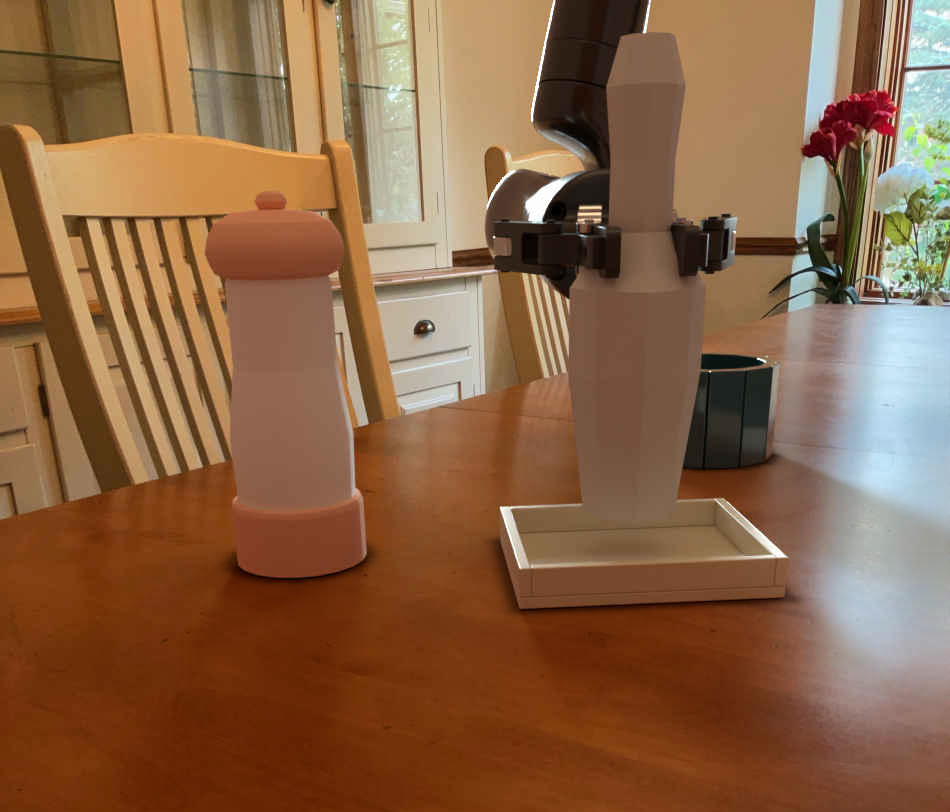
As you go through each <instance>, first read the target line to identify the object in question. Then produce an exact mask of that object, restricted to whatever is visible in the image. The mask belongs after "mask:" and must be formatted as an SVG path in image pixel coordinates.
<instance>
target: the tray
mask: <svg viewBox="0 0 950 812" xmlns="http://www.w3.org/2000/svg"><path fill="white" fill-rule="evenodd" d="M499 541H500V545H501V549H502V552H503V554H504V555H503V556H504V559H505V563H506V567H507V570H508V574H509V576H510V579H511V584H512V587H513V591H514V594H515V598H516V601H517V604H518V608H519V609H520V610H527V609H528V610H529V609H553V608H572V607H573V608H575V607H597V606H617V605H620V606H621V605H645V604H665V603H687V602H688V603H689V602H691V603H692V602H708V601H709V602H711V601H712V602H713V601H735V600H757V599H779V598H785V594H786V585H787V584H786V583H787V575H788V573H787V572H788V563H789V557H788V556H787V555H786V554H785V553H784V552H782V550H780V549H779V547H777V546H776V545H775V544H774V543H773V542H772V541H770V540H769V539H768V538H767V537H766V536H765V535H764V534H763V533H762V532H761V531H759V529H758V528H756V527H755V526H754V524H752V523H751V522H750V521H749V520H748V519H747V518H746V517H745V516H744V515H743V514H741V513H740V512H739V511H738V510H737V509H736V508H735V507H734V506H732V504H730V502H728V501H727V500H726V499H725V498H724V497H718V498H717V497H715V498H690V499H676V505H675V509H674V510H672V511H671V512H670V513H669V514H668V515H667V516H666V517H665V518H660V519H654V520H648V521H642V522H637V523H634V522H625V521H617V520H608V519H601V518H599V517H597V516H594V515H592V514H590V513H588V512H586V511H584V510H583V507H582V503H559V504H537V505H536V504H535V505H533V504H532V505H511V506H509V505H508V506H507V505H506V506H500V507H499Z"/></svg>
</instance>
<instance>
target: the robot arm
mask: <svg viewBox="0 0 950 812" xmlns="http://www.w3.org/2000/svg"><path fill="white" fill-rule="evenodd" d="M651 2H652V0H553V2H552V8H551V11H550V17H549V21H548V26H547V30H546V31H547V32H546V36H545V41H544V46H543V50H542V54H541V55H542V56H541V61H540V66H539V71H538V76H537V81H536V86H535V93H534V97H533V100H532V101H533V102H532V108H531V123H532V126H533V129H534V130H535V131H536V132H537V133H538V134H539V135H540V136H541V137H543V138H545V139H546V140H548V141H549V142H551V143H553V144H555V145H558V146H559V147H561V148H563V149H565V150H566V151H569V153H571V154H572V155H574V156H575V157H577V159H578V160H579V161H580V164H581V165H582V167H583V170H579V171H574V172H571V173H568V174H565V175H563V176H559V175H558V176H557V175H554V174H551V175H550V174H548V173H545V172H540V171H536V170H531V169H528V168H517V169H515V170H512V171H510V172H509V173H507V174H506V175H505V176H504V177H502V179H501V180H500V182H498V184H497V185H496V187H495V189H494V190H493V192H492V193H491V196H490V198H489V201H488V204H487V207H486V211H485V217H484V235H485V242H486V245H487V249H488V251H489V253H490V255H491V257H492V259H493V270H494V271H500V273H504V274H506V273H518V274H519V273H520V274H527V275H528V274H529V275H534V276H535V275H537V276H539V278H540V279H541V281H543V283H545V285H547V286H548V287H550V288H551V289H552V290H553V291H555V292H557V293H558V294H560V295H561V296H563V297H564V298H565V299H567V300H569V301H570V287H571V285H572V284H573V282H574V281H575V280H576V278H577V277H578V275H579V274H580V272H581V271H582V270H583V268H586V269H598V270H599V274H600V277H601V278H619V275H620V261H621V229H620V227H615V226H609V196H610V162H611V159H610V142H609V125H608V108H607V91H606V87H607V83H608V80H609V76H610V73H611V69H612V66H613V62H614V59H615V55H616V52H617V49H618V45H619V42H620V38H621V36H625V35H629V34H635V33H647V25H648V21H649V14H650V9H651ZM731 215H732V214H731V213H721V214H720V216H719V215H718V216H717V215H716V216H715V215H713V216H711V215H709V216H707V217H706V216H705V217H703V219H700V225H696V224H694V220H692V219H691V220H687V217H684V216H682V217H679V215H678V211H677V209H675V208H673V217H672V226H671V232H672V237H673V241H674V245H675V250H676V254H677V259H678V269H679V276H680V277H684V276H696V275H697V272H698V273H699V272H704V275H715V272H722V271H724V270H726V269H727V268H730V267H731V266H733V265H734V264H735V254H736V253H735V250H736V242H737V241H736V239H737V226H738V216H731Z"/></svg>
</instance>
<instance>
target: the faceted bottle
mask: <svg viewBox="0 0 950 812" xmlns="http://www.w3.org/2000/svg"><path fill="white" fill-rule="evenodd" d="M686 85H687V84H686V81H685V76H684V71H683V65H682V62H681V56H680V52H679V47H678V42H677V38H676V35H675V34H673V33H671V32H656V31H649V32H647V31H646V32H645V33H635V34H629V35H625V36H621V38H620V42H619V45H618V49H617V52H616V55H615V59H614V62H613V66H612V69H611V73H610V76H609V80H608V83H607V87H606V91H607V108H608V125H609V142H610V159H611V162H610V196H609V226H615V227H620V229H621V261H620V275H619V278H601V277H600V274H599V270H598V269H586V268H583V270H582V271H581V272H580V274H579V275H578V277H577V278H576V280H575V281H574V282H573V284H572V285H571V287H570V300H569V303H568V304H569V305H568V306H569V307H568V309H569V310H568V311H569V313H568V318H569V319H568V367H567V368H568V369H567V370H568V371H567V372H568V375H567V376H568V384H569V396H570V402H571V404H570V405H571V414H572V423H573V432H574V440H575V451H576V458H577V468H578V477H579V487H580V496H581V504H582V507H583V510H584V511H586V512H588V513H590V514H592V515H594V516H597V517H599V518H601V519H608V520H617V521H625V522H634V523H637V522H642V521H648V520H654V519H660V518H665V517H666V516H667V515H668V514H669V513H670V512H671V511H672V510H674V509H675V505H676V500H678V493H679V489H680V488H679V487H680V483H681V477H682V473H683V468H684V467H683V462H684V457H685V451H686V446H687V441H688V435H689V430H690V425H691V419H692V414H693V409H694V403H695V398H696V393H697V387H698V382H699V377H700V370H701V355H702V352H703V340H704V324H705V323H704V322H705V307H706V293H707V284H706V283H705V281H704V280H703V278H702V277H701V274H700V273H699V271H698V272H697V275H696V276H684V277H680V276H679V269H678V259H677V254H676V250H675V245H674V241H673V237H672V232H671V226H672V217H673V209H674V198H675V197H674V194H675V175H676V157H677V150H678V144H679V138H680V137H679V136H680V129H681V123H682V122H681V121H682V115H683V109H684V108H683V107H684V103H685V102H684V101H685V94H686V87H687V86H686Z"/></svg>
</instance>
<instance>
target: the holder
mask: <svg viewBox="0 0 950 812" xmlns="http://www.w3.org/2000/svg"><path fill="white" fill-rule="evenodd" d="M780 367H781V361H779V360H777V359H774V358H772V357H769V356H765V355H758V354H757V355H756V354H750V353H740V352H721V351H720V352H717V351H710V352H708V351H702V355H701V370H700V377H699V382H698V387H697V393H696V398H695V403H694V409H693V414H692V419H691V425H690V430H689V435H688V441H687V446H686V451H685V457H684V462H683V467H682V468H689V469H700V470H702V469H704V470H711V469H713V470H715V469H737V468H744V467H749V466H753V465H759V464H763V463H765V462H766V461H767V460H768V459H769V458H770V457H771V456H772V455H773V448H774V447H773V446H774V435H775V434H774V433H775V425H776V423H775V422H776V414H777V413H776V412H777V401H778V389H779V380H780V379H779V378H780V377H779V375H780Z"/></svg>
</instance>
